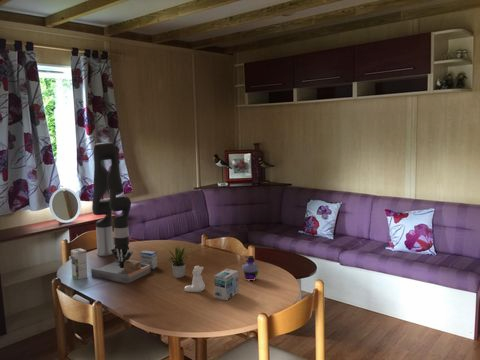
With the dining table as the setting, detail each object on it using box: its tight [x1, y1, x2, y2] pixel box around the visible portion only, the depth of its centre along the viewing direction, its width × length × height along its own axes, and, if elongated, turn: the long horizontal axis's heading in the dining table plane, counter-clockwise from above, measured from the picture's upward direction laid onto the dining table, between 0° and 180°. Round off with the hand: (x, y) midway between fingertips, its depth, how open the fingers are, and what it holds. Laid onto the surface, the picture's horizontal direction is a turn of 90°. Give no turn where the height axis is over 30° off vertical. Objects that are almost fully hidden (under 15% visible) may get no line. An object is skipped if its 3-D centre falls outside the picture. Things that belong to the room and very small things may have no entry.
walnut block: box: [124, 259, 141, 273], centre depth 224 cm, size 5×7×5 cm
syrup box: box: [70, 248, 88, 281], centre depth 222 cm, size 6×6×14 cm
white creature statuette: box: [184, 265, 206, 293], centre depth 205 cm, size 10×9×12 cm
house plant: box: [166, 245, 194, 279], centre depth 223 cm, size 14×14×16 cm
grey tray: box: [90, 258, 152, 284], centre depth 228 cm, size 18×24×4 cm
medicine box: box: [139, 250, 158, 270], centre depth 238 cm, size 8×4×9 cm, turn 68°
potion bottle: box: [241, 255, 260, 279], centre depth 218 cm, size 9×9×12 cm
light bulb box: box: [214, 268, 240, 301], centre depth 198 cm, size 11×7×11 cm, turn 148°
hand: (122, 267), depth 227 cm, fingers closed
